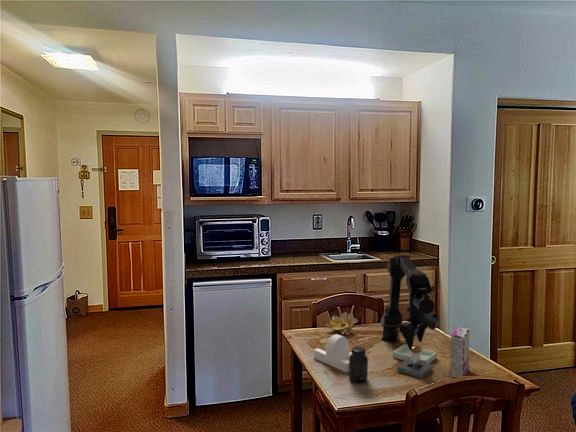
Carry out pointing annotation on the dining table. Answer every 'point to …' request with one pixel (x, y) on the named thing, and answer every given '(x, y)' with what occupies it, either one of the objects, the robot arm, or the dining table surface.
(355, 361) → the supplement bottle
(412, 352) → the salt shaker
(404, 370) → the collar
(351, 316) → the decorative flower
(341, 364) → the white tape roll holder
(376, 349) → the dining table surface
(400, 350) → the tray
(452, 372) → the candy bar box
